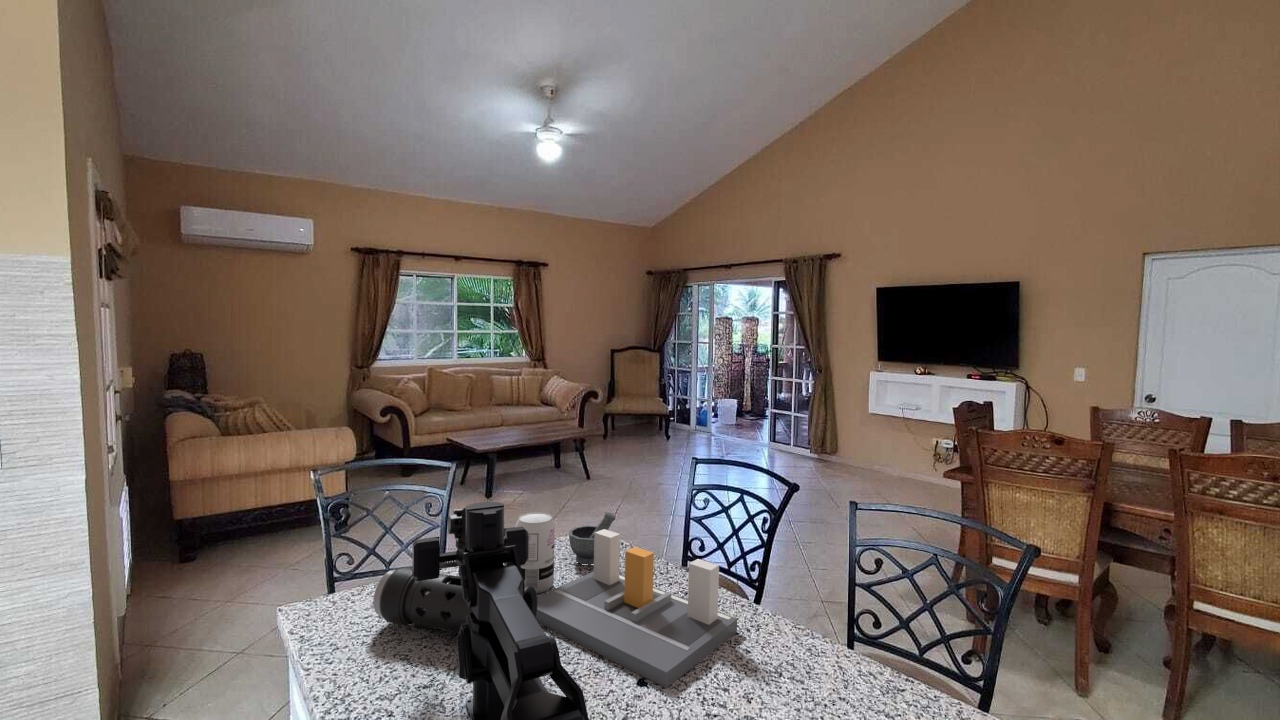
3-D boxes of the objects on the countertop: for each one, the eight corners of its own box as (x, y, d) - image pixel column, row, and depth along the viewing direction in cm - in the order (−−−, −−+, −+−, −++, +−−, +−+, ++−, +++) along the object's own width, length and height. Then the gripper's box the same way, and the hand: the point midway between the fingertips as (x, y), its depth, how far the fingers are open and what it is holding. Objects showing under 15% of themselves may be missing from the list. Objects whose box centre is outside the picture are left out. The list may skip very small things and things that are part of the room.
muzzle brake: (513, 661, 92) (514, 599, 92) (369, 635, 99) (369, 577, 99) (537, 632, 101) (538, 576, 101) (404, 610, 108) (405, 557, 108)
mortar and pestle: (563, 566, 130) (564, 516, 130) (573, 551, 140) (574, 504, 139) (611, 570, 129) (612, 519, 128) (617, 554, 138) (618, 507, 138)
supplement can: (510, 582, 121) (511, 514, 121) (547, 576, 125) (548, 510, 124) (519, 598, 114) (520, 525, 114) (558, 591, 118) (559, 521, 117)
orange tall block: (642, 610, 105) (644, 557, 104) (624, 602, 107) (625, 551, 107) (652, 604, 107) (653, 552, 107) (634, 596, 110) (635, 546, 109)
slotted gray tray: (666, 688, 86) (668, 608, 85) (523, 615, 107) (524, 551, 107) (736, 632, 103) (738, 565, 102) (601, 578, 124) (602, 523, 124)
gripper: (539, 508, 92) (515, 489, 106) (418, 522, 84) (409, 499, 97) (538, 576, 92) (514, 548, 106) (417, 597, 83) (408, 563, 97)
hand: (463, 538), depth 102 cm, fingers open, 9 cm apart
